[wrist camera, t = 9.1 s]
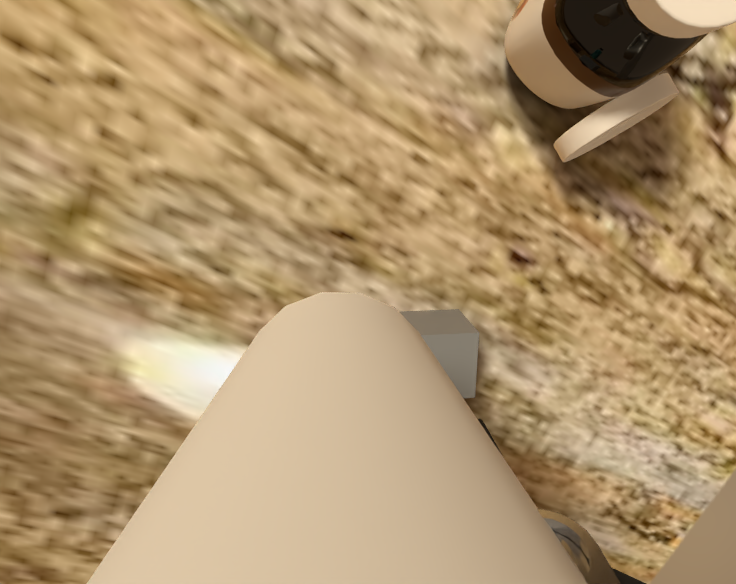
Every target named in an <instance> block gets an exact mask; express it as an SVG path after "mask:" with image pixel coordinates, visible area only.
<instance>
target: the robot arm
mask: <svg viewBox="0 0 736 584" xmlns="http://www.w3.org/2000/svg"><path fill="white" fill-rule="evenodd" d="M478 421H479V422H480V424H481V425H482V427H483V428H484V430H485V431H486V433H487V434H488V436H489V437H490V439H491V440H492V442H493V443H494V445H495V446H496V448H497V449H498V447H497V445H496V443H495V442H494V440H493V438H492V436H491V435H490V433H489V431H488V429H487V428H486V426H485V424H484V423H483V421H482V420H481V419H478ZM498 450H499V449H498ZM499 452H500V451H499ZM500 453H501V452H500ZM501 455H502V454H501ZM537 510H538V512H539V513H540V515H541V516H542V518H543V519H544V520H545V521H546V522H547V523H548V525H549V526H550V527H551V529H552V530H553V532H554V533H555V535H556V536H557V538H558V539H559V541H560V542H561V544H562V546H563V547H564V549H565V550H566V551H567V553H568V554H569V556H570V557H571V559H572V560H573V562H574V563H575V564H576V566H577V567H578V569H579V570H580V572H581V573H582V575H583V576H584V578H585V581H586V582H587V584H646V583H643V582H641V581H639V580H637V579H635V578H633V577H630V576H628V575H626V574H624V573H622V572H619V571H617V570H615V569H613V568H611V566H610V565H609V563H608V561H607V560H606V558H605V556H604V555H603V553H602V551H601V550H600V548H599V546H598V544H597V543H596V542H595V541H594V539H593V538H592V537H591V535H590V534H589V533H588V532H587V530H585V529H584V528H583V527H581V526H580V525H579V524H578V523H576V522H575V521H574V520H572V519H570V518H568V517H566V516H564V515H561V514H559V513H556V512H552V511H548V510H543V509H537Z"/></svg>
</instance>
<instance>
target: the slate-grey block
mask: <svg viewBox="0 0 736 584" xmlns="http://www.w3.org/2000/svg"><path fill="white" fill-rule="evenodd" d="M400 313H401V314H402V315H403V316H404V317H405V318H406V320H407V321H408V322H409V323H410V324H411V325H412V326H413V327H414V328H415V329H416V330H417V331H418V332H419V333H420V335H421V336H422V338H423V339H424V341H425V342H426V344H427V345H428V347H429V348H430V350H431V351H432V353H433V354H434V356H435V357H436V359H437V360H438V362H439V363H440V365H441V366H442V368H443V369H444V371H445V372H446V373H447V375H448V376H449V378H450V379H451V381H452V382H453V384H454V385H455V387H456V388H457V390H458V391H459V393H460V394H461V396H462V397H463V398H475V390H476V374H477V359H478V343H479V332H478V331H477V330H476V329H475V327H474V326H473V325H472V324H471V323H470V322H469V321H468V319H467V318H466V317H465V316H464V315H463V314H462V313H461V311H460V310H459V309H455V310H430V311H406V312H400Z"/></svg>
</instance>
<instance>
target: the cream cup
mask: <svg viewBox="0 0 736 584" xmlns="http://www.w3.org/2000/svg"><path fill="white" fill-rule="evenodd" d="M537 509H538V508H537V507H536V505H535V504H534V502H533V501H532V499H531V498H530V496H529V495H528V493H527V492H526V490H525V489H524V487H523V486H522V485H521V483H520V482H519V480H518V479H517V477H516V476H515V474H514V473H513V471H512V470H511V468H510V467H509V465H508V464H507V462H506V461H505V459H504V458H503V456H502V455H501V453H500V452H499V450H498V449H497V448H496V446H495V445H494V443H493V442H492V440H491V439H490V437H489V436H488V434H487V433H486V431H485V430H484V428H483V427H482V425H481V424H480V422H479V421H478V419H477V418H476V416H475V415H474V413H473V412H472V410H471V409H470V408H469V406H468V405H467V403H466V402H465V400H464V399H463V397H462V396H461V394H460V393H459V391H458V390H457V388H456V387H455V385H454V384H453V382H452V381H451V379H450V378H449V376H448V375H447V373H446V372H445V371H444V369H443V368H442V366H441V365H440V363H439V362H438V360H437V359H436V357H435V356H434V354H433V353H432V351H431V350H430V348H429V347H428V345H427V344H426V342H425V341H424V339H423V338H422V336H421V335H420V333H419V332H418V331H417V330H416V329H415V328H414V327H413V326H412V325H411V324H410V323H409V322H408V321H407V320H406V318H405V317H404V316H403V315H402V314H401V313H400V312H399V311H398V310H397V309H396V308H395V307H393V306H390V305H388V304H386V303H383V302H381V301H378V300H376V299H374V298H371V297H369V296H366V295H364V294H362V293H337V292H321V293H318V294H316V295H313V296H310V297H308V298H305V299H303V300H300V301H297V302H295V303H292V304H290V305H287V306H285V307H284V308H283V309H282V310H281V311H280V312H279V313H278V314H277V315H276V316H275V317H273V318H272V319H271V320H270V321H269V322H268V323H267V324H266V325H265V326H264V327H263V328H262V329H261V330H260V331H259V332H258V334H257V335H256V337H255V338H254V340H253V341H252V343H251V344H250V346H249V347H248V348H247V350H246V351H245V353H244V354H243V356H242V357H241V359H240V360H239V362H238V363H237V365H236V366H235V368H234V369H233V370H232V372H231V373H230V375H229V376H228V378H227V379H226V381H225V382H224V384H223V385H222V387H221V388H220V389H219V391H218V392H217V394H216V395H215V397H214V398H213V400H212V401H211V403H210V404H209V406H208V407H207V408H206V410H205V411H204V413H203V414H202V416H201V417H200V419H199V420H198V422H197V423H196V425H195V426H194V427H193V429H192V430H191V432H190V433H189V435H188V436H187V438H186V439H185V441H184V442H183V444H182V445H181V447H180V448H179V449H178V451H177V452H176V454H175V455H174V457H173V458H172V460H171V461H170V463H169V464H168V466H167V467H166V468H165V470H164V471H163V473H162V474H161V476H160V477H159V479H158V480H157V482H156V483H155V485H154V486H153V487H152V489H151V490H150V492H149V493H148V495H147V496H146V498H145V499H144V501H143V502H142V504H141V505H140V506H139V508H138V509H137V511H136V512H135V514H134V515H133V517H132V518H131V520H130V521H129V523H128V524H127V526H126V527H125V528H124V530H123V531H122V533H121V534H120V536H119V537H118V539H117V540H116V542H115V543H114V545H113V546H112V547H111V549H110V550H109V552H108V553H107V555H106V556H105V558H104V559H103V561H102V562H101V564H100V565H99V566H98V568H97V569H96V571H95V572H94V574H93V575H92V577H91V578H90V580H89V581H88V583H87V584H587V582H586V581H585V578H584V576H583V575H582V573H581V572H580V570H579V569H578V567H577V566H576V564H575V563H574V562H573V560H572V559H571V557H570V556H569V554H568V553H567V551H566V550H565V549H564V547H563V546H562V544H561V542H560V541H559V539H558V538H557V536H556V535H555V533H554V532H553V530H552V529H551V527H550V526H549V525H548V523H547V522H546V521H545V520H544V519H543V518H542V516H541V515H540V513H539V512H538V510H537Z"/></svg>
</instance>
